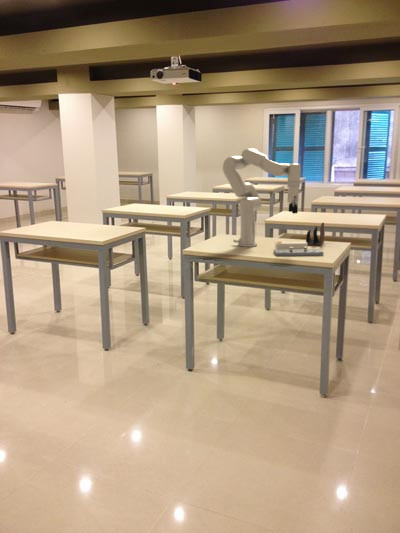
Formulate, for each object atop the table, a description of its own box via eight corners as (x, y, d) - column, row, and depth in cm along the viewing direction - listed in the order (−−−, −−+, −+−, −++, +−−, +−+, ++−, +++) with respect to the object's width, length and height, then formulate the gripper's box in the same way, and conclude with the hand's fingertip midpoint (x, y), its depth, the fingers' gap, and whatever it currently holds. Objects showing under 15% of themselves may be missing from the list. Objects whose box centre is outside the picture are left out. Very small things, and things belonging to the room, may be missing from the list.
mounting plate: (276, 256, 291) (277, 249, 290) (273, 252, 301) (274, 245, 300) (323, 255, 292) (323, 248, 291) (318, 252, 302) (319, 245, 301)
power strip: (276, 251, 304) (277, 242, 302) (275, 249, 310) (275, 241, 308) (307, 251, 304) (307, 242, 303) (304, 249, 310) (305, 240, 309)
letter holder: (323, 241, 338) (324, 221, 334) (321, 246, 319) (322, 225, 316) (309, 240, 341) (309, 220, 337) (305, 245, 322) (306, 224, 319)
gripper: (284, 183, 306) (284, 211, 309) (290, 185, 289) (290, 214, 293) (296, 183, 306) (295, 210, 310) (303, 185, 289) (302, 213, 293)
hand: (293, 212), depth 301 cm, fingers open, 9 cm apart
